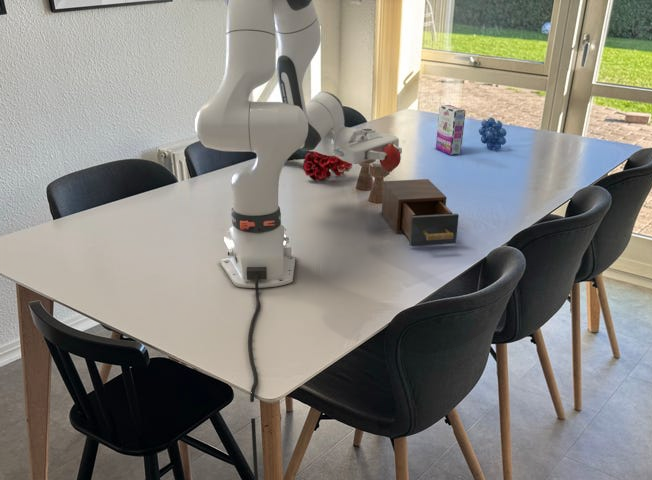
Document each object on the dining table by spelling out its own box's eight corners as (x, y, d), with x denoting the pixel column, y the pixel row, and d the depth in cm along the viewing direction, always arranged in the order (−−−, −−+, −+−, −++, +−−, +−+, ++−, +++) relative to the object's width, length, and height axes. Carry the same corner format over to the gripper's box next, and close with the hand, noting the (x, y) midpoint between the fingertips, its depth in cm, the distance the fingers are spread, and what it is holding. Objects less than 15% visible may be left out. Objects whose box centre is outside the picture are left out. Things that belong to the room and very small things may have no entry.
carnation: (276, 183, 259) (349, 198, 238) (246, 157, 244) (320, 172, 223) (294, 145, 260) (368, 157, 239) (264, 117, 245) (340, 128, 224)
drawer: (462, 250, 184) (465, 221, 180) (416, 253, 182) (418, 224, 178) (437, 222, 201) (439, 196, 197) (395, 225, 199) (396, 198, 195)
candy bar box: (461, 154, 267) (466, 110, 259) (450, 155, 265) (455, 111, 257) (445, 147, 276) (449, 104, 267) (435, 148, 274) (438, 105, 266)
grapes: (472, 149, 274) (475, 117, 268) (479, 145, 279) (483, 114, 273) (499, 154, 268) (504, 121, 262) (507, 150, 273) (511, 118, 267)
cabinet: (443, 230, 198) (446, 196, 193) (396, 233, 196) (398, 199, 191) (425, 210, 213) (428, 178, 207) (381, 213, 210) (383, 181, 205)
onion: (375, 172, 191) (376, 143, 187) (383, 167, 196) (385, 138, 192) (394, 176, 189) (396, 146, 185) (403, 170, 194) (405, 141, 189)
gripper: (329, 140, 188) (370, 149, 181) (374, 127, 202) (414, 135, 194) (329, 163, 191) (369, 173, 184) (373, 149, 205) (412, 158, 198)
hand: (393, 154), depth 189 cm, fingers closed on onion, 5 cm apart
